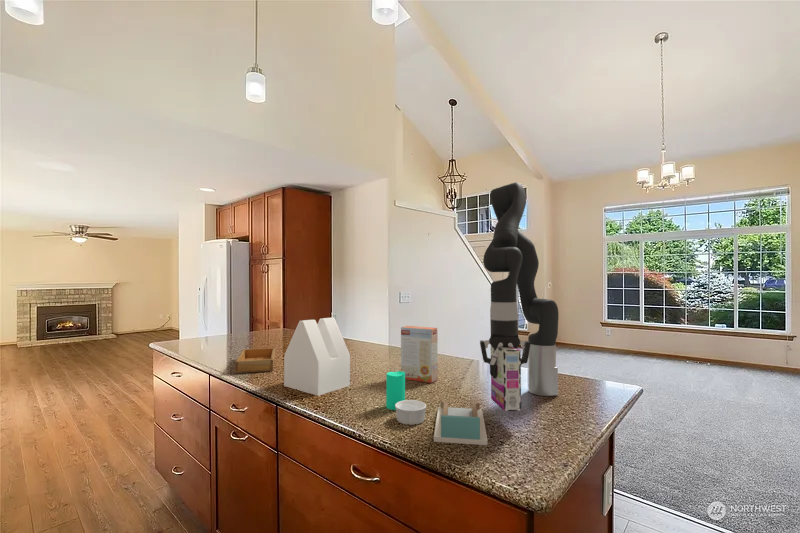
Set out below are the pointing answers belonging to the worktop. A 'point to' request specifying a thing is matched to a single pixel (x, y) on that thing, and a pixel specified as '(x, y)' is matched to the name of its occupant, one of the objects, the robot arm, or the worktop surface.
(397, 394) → the candle
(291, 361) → the slotted house block
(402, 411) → the ramekin
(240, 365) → the tray
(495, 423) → the worktop surface
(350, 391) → the worktop surface
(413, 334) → the cracker box
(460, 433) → the slot board
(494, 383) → the candy bar box
